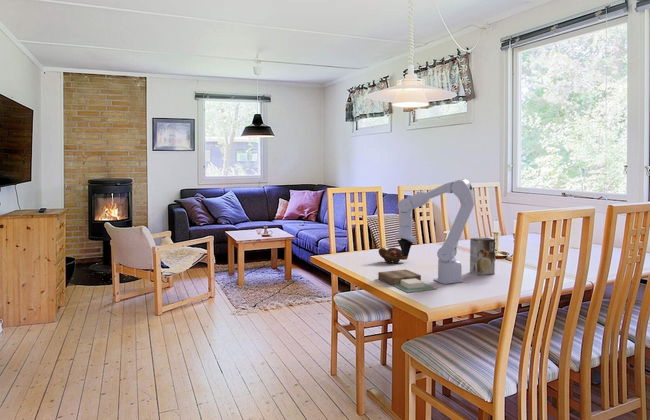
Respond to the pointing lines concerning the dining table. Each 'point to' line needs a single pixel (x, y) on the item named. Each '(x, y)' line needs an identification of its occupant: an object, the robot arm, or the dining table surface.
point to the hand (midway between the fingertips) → (405, 256)
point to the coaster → (412, 283)
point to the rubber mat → (425, 288)
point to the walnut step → (397, 276)
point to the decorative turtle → (392, 255)
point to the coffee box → (482, 256)
